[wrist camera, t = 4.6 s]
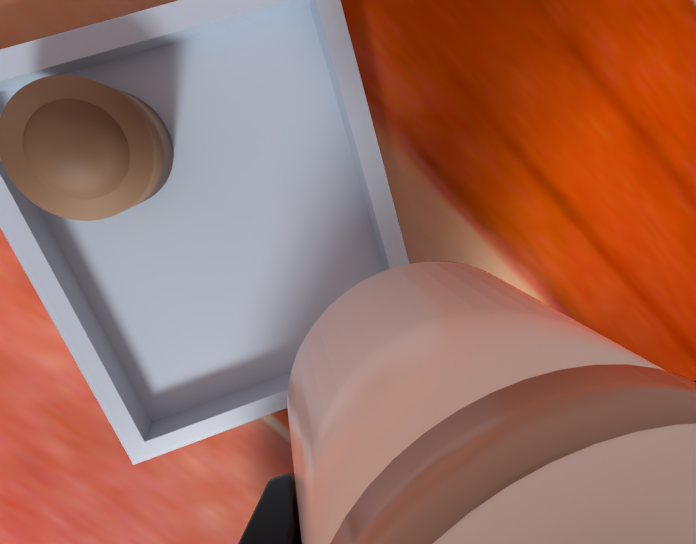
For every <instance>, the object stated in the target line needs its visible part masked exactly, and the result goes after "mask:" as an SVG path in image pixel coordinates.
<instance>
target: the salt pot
mask: <svg viewBox="0 0 696 544" xmlns="http://www.w3.org/2000/svg"><path fill="white" fill-rule="evenodd" d="M173 157H174V154H173V145H172V140H171V137H170V134H169V132H168V130H167V128H166V126H165V124H164V122H163V121H162V119H161V118H160V117H159V115H158V114H157V113H156V112H155V111H154V110H153V109H152V108H151V107H150V106H149V105H147V104H146V103H145V102H143V101H142V100H140V99H138V98H137V97H135V96H132V95H130V94H128V93H125V92H123V91H120V90H117V89H115V88H112V87H110V86H107V85H105V84H102V83H99V82H97V81H94V80H91V79H88V78H85V77H80V76H74V75H53V76H48V77H43V78H40V79H37V80H35V81H32V82H30V83H29V84H27V85H25V86H24V87H22V88H21V89H20V90H18V91H17V92H16V93H15V94H14V95H13V96H12V97H11V98H10V100H9V101H8V103H7V104H6V106H5V107H4V110H3V112H2V114H1V117H0V158H1V161H2V164H3V166H4V168H5V171H6V173H7V174H8V176H9V178H10V179H11V181H12V182H13V183H14V185H15V186H16V187H17V189H18V190H19V191H20V192H21V193H22V194H23V195H24V196H25V197H26V198H28V199H29V200H30V201H31V202H33V203H34V204H35V205H37V206H39V207H40V208H42V209H43V210H45V211H48V212H50V213H52V214H54V215H57V216H60V217H63V218H67V219H71V220H79V221H93V220H101V219H105V218H109V217H112V216H114V215H117V214H119V213H121V212H123V211H125V210H127V209H129V208H131V207H133V206H135V205H137V204H139V203H141V202H143V201H145V200H147V199H149V198H151V197H152V196H153V195H155V194H156V193H157V192H158V191H159V190H160V189H161V188H162V187H163V186H164V184H165V183H166V181H167V179H168V178H169V175H170V173H171V170H172V165H173Z"/></svg>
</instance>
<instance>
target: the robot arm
mask: <svg viewBox="0 0 696 544" xmlns="http://www.w3.org/2000/svg"><path fill="white" fill-rule="evenodd" d="M691 381H692V380H691ZM693 382H695V383H696V381H693ZM238 544H302V540H301V531H300V522H299V512H298V503H297V493H296V484H295V480H294V477H293V476H292V475H291V474H290V473H288V474H285V475H282V476H279V477H276V478H273V479H271V480H270V481H269V482H268V484H267V486H266V488H265V490H264V492H263V494H262V496H261V498H260V500H259V502H258V504H257V507H256V509H255V511H254V513H253V515H252V517H251V519H250V521H249V523H248V525H247V527H246V529H245V531H244V533H243V535H242V537H241V539H240V541H239V543H238Z"/></svg>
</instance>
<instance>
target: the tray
mask: <svg viewBox="0 0 696 544" xmlns="http://www.w3.org/2000/svg"><path fill="white" fill-rule="evenodd" d="M53 75H74V76H80V77H85V78H88V79H91V80H94V81H97V82H99V83H102V84H105V85H107V86H110V87H112V88H115V89H117V90H120V91H123V92H125V93H128V94H130V95H132V96H135V97H137V98H138V99H140V100H142V101H143V102H145V103H146V104H147V105H149V106H150V107H151V108H152V109H153V110H154V111H155V112H156V113H157V114H158V115H159V117H160V118H161V119H162V121H163V122H164V124H165V126H166V128H167V130H168V132H169V134H170V137H171V140H172V145H173V154H174V157H173V165H172V170H171V173H170V175H169V178H168V179H167V181H166V183H165V184H164V186H163V187H162V188H161V189H160V190H159V191H158V192H157V193H156V194H155V195H153V196H152V197H151V198H149V199H147V200H145V201H143V202H141V203H139V204H137V205H135V206H133V207H131V208H129V209H127V210H125V211H123V212H121V213H119V214H117V215H114V216H112V217H109V218H105V219H101V220H93V221H79V220H71V219H67V218H63V217H60V216H57V215H54V214H52V213H50V212H48V211H45V210H43V209H42V208H40V207H39V206H37V205H35V204H34V203H33V202H31V201H30V200H29V199H28V198H26V197H25V196H24V195H23V194H22V193H21V192H20V191H19V190H18V189H17V187H16V186H15V185H14V183H13V182H12V181H11V179H10V178H9V176H8V174H7V173H6V171H5V168H4V166H3V164H2V161H1V158H0V228H1V230H2V231H3V233H4V235H5V237H6V238H7V240H8V242H9V244H10V246H11V247H12V249H13V251H14V253H15V255H16V256H17V258H18V260H19V262H20V263H21V265H22V267H23V269H24V271H25V272H26V274H27V276H28V278H29V280H30V281H31V283H32V285H33V287H34V288H35V290H36V292H37V294H38V296H39V297H40V299H41V301H42V303H43V304H44V306H45V308H46V310H47V312H48V313H49V315H50V317H51V319H52V321H53V322H54V324H55V326H56V328H57V329H58V331H59V333H60V335H61V337H62V338H63V340H64V342H65V344H66V345H67V347H68V349H69V351H70V353H71V354H72V356H73V358H74V360H75V362H76V363H77V365H78V367H79V369H80V370H81V372H82V374H83V376H84V378H85V379H86V381H87V383H88V385H89V387H90V388H91V390H92V392H93V394H94V395H95V397H96V399H97V401H98V403H99V404H100V406H101V408H102V410H103V411H104V413H105V415H106V417H107V419H108V420H109V422H110V424H111V426H112V428H113V429H114V431H115V433H116V435H117V436H118V438H119V440H120V442H121V444H122V445H123V447H124V449H125V451H126V452H127V454H128V456H129V458H130V460H131V461H132V463H133V465H134V464H137V463H140V462H143V461H145V460H148V459H151V458H153V457H156V456H159V455H161V454H164V453H167V452H169V451H172V450H175V449H178V448H180V447H183V446H186V445H188V444H191V443H194V442H196V441H199V440H202V439H205V438H207V437H210V436H213V435H215V434H218V433H221V432H223V431H226V430H229V429H232V428H234V427H237V426H240V425H242V424H245V423H248V422H250V421H253V420H256V419H259V418H261V417H264V416H267V415H269V414H272V413H275V412H277V411H280V410H283V409H286V408H287V396H288V384H289V379H290V374H291V369H292V366H293V364H294V361H295V358H296V355H297V352H298V350H299V348H300V347H301V345H302V343H303V341H304V339H305V337H306V335H307V334H308V332H309V331H310V329H311V328H312V326H313V325H314V323H315V322H316V321H317V319H318V318H319V317H320V316H321V315H322V314H323V313H324V312H325V310H326V309H327V308H328V307H329V306H330V305H331V304H332V303H334V302H335V301H336V300H337V299H338V298H339V297H340V296H342V295H343V294H344V293H345V292H347V291H348V290H350V289H351V288H353V287H354V286H356V285H357V284H359V283H360V282H362V281H364V280H366V279H368V278H370V277H372V276H374V275H376V274H378V273H380V272H383V271H386V270H389V269H391V268H394V267H398V266H402V265H406V264H409V260H408V256H407V252H406V248H405V244H404V241H403V237H402V233H401V229H400V225H399V222H398V218H397V214H396V210H395V206H394V203H393V199H392V195H391V191H390V187H389V183H388V180H387V176H386V172H385V168H384V164H383V161H382V157H381V153H380V149H379V145H378V141H377V138H376V134H375V130H374V126H373V122H372V119H371V115H370V111H369V107H368V103H367V100H366V96H365V92H364V88H363V84H362V80H361V77H360V73H359V69H358V65H357V61H356V58H355V54H354V50H353V46H352V42H351V39H350V35H349V31H348V27H347V23H346V19H345V16H344V12H343V8H342V4H341V0H178V1H174V2H171V3H167V4H163V5H160V6H156V7H152V8H149V9H145V10H142V11H138V12H134V13H131V14H127V15H123V16H120V17H116V18H112V19H109V20H105V21H102V22H98V23H94V24H91V25H87V26H83V27H80V28H76V29H73V30H69V31H65V32H62V33H58V34H54V35H51V36H47V37H44V38H40V39H36V40H33V41H29V42H25V43H22V44H18V45H14V46H11V47H7V48H4V49H0V117H1V114H2V112H3V110H4V107H5V106H6V104H7V103H8V101H9V100H10V98H11V97H12V96H13V95H14V94H15V93H16V92H17V91H18V90H20V89H21V88H22V87H24V86H25V85H27V84H29V83H30V82H32V81H35V80H37V79H40V78H43V77H48V76H53Z"/></svg>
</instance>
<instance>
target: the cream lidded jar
mask: <svg viewBox="0 0 696 544" xmlns="http://www.w3.org/2000/svg"><path fill="white" fill-rule="evenodd" d="M287 408H288V418H289V428H290V437H291V446H292V456H293V465H294V475H295V484H296V493H297V503H298V512H299V522H300V531H301V540H302V544H696V383H695V382H693V381H691V380H689V379H687V378H685V377H683V376H681V375H677V374H674V373H671V372H667V371H666V370H664V369H662V368H660V367H658V366H657V365H655V364H653V363H651V362H649V361H648V360H646V359H644V358H642V357H640V356H638V355H637V354H635V353H633V352H631V351H629V350H628V349H626V348H624V347H622V346H620V345H619V344H617V343H615V342H613V341H611V340H610V339H608V338H606V337H604V336H602V335H601V334H599V333H597V332H595V331H593V330H591V329H590V328H588V327H586V326H584V325H582V324H581V323H579V322H577V321H575V320H573V319H572V318H570V317H568V316H566V315H564V314H563V313H561V312H559V311H557V310H555V309H553V308H552V307H550V306H548V305H546V304H544V303H543V302H541V301H539V300H537V299H535V298H534V297H532V296H530V295H528V294H526V293H525V292H523V291H521V290H519V289H517V288H516V287H514V286H512V285H510V284H508V283H506V282H505V281H503V280H501V279H499V278H497V277H495V276H493V275H492V274H490V273H488V272H486V271H484V270H481V269H478V268H475V267H472V266H469V265H465V264H459V263H454V262H442V261H428V262H417V263H411V264H406V265H402V266H398V267H394V268H391V269H389V270H386V271H383V272H380V273H378V274H376V275H374V276H372V277H370V278H368V279H366V280H364V281H362V282H360V283H359V284H357V285H356V286H354V287H353V288H351V289H350V290H348V291H347V292H345V293H344V294H343V295H342V296H340V297H339V298H338V299H337V300H336V301H335V302H334V303H332V304H331V305H330V306H329V307H328V308H327V309H326V310H325V312H324V313H323V314H322V315H321V316H320V317H319V318H318V319H317V321H316V322H315V323H314V325H313V326H312V328H311V329H310V331H309V332H308V334H307V335H306V337H305V339H304V341H303V343H302V345H301V347H300V348H299V350H298V352H297V355H296V358H295V361H294V364H293V366H292V369H291V374H290V379H289V384H288V396H287Z"/></svg>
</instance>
